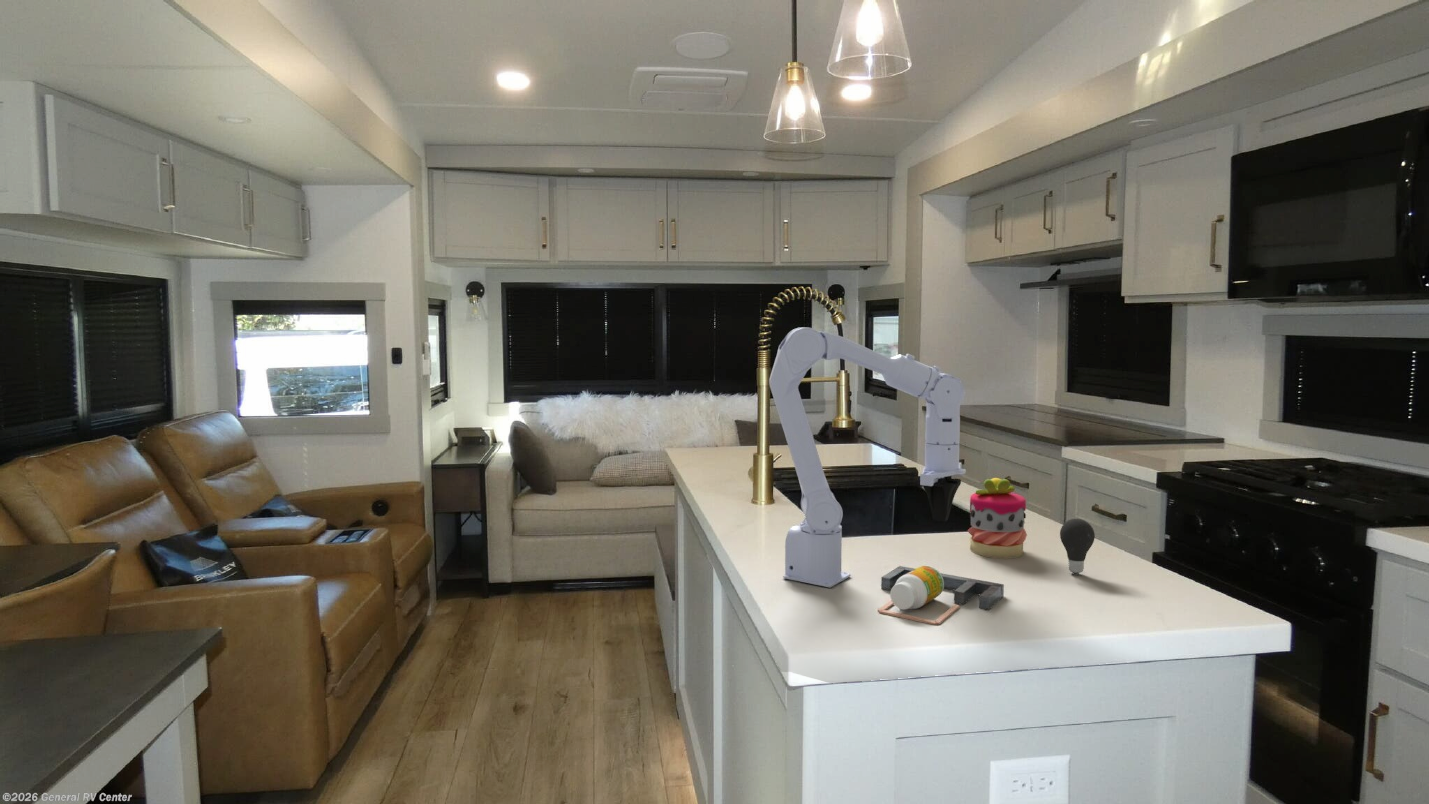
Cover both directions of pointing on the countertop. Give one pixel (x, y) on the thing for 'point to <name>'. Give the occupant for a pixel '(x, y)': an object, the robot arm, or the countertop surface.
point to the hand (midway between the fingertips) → (940, 520)
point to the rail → (956, 587)
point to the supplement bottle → (917, 588)
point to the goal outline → (937, 621)
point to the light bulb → (1077, 542)
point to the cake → (997, 520)
